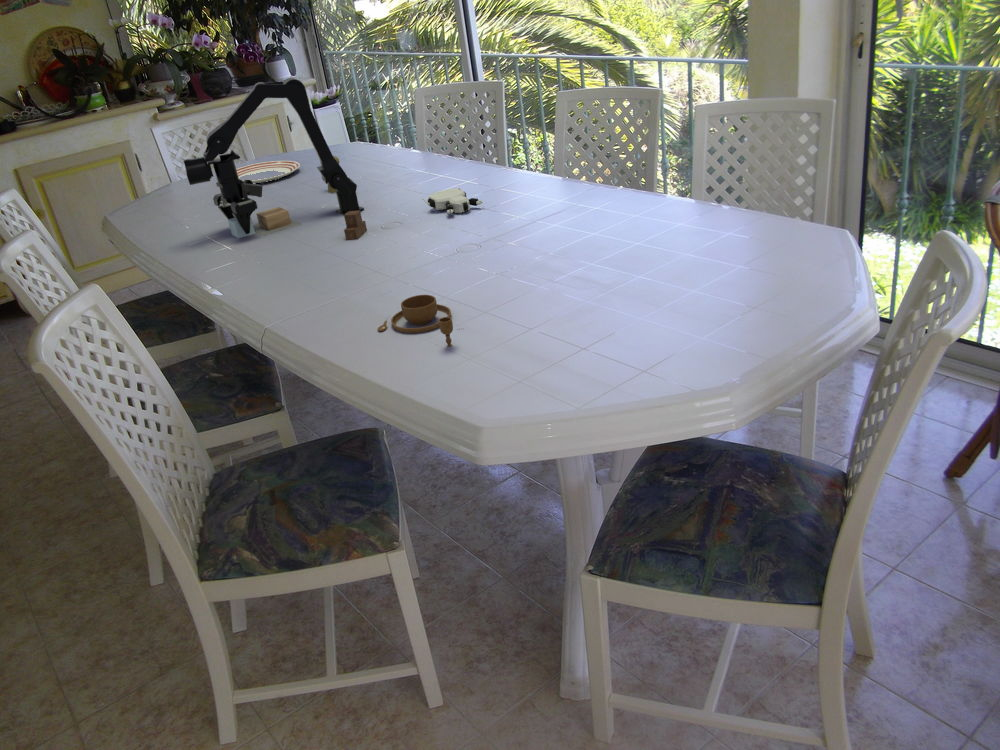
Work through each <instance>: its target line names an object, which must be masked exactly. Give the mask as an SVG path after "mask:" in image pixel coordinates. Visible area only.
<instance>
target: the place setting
mask: <svg viewBox="0 0 1000 750" xmlns="http://www.w3.org/2000/svg"><path fill="white" fill-rule="evenodd" d="M400 308H401V310H400V311H398V312H397V313H395V314H394V315H393V316H392V318H391V320H390V323H391V326H392V327H393V329H394V330H395V331H398V332H400V333H403V334H404V333H405V334H420V333H427V332H431V331H434V330H438V329H439V331H440V333H441V334H443V335H444V336H445V343H446V344H447V345H446V347H447V348H451V347H452V346H453V345H452V338H451V333H453V331H454V326H453V319H452V311H451V308H449V307H448V306H446V305H443V304H437V299H436V297H435V296H434V295H430V294H419V295H413V296H410V297H408V298H406V299H404V300H402V301H401V303H400ZM438 312H443V313H445V315H447V316H444V317H440V318H438V322H436V323H433V324H430V325H427V324H429V323H431V322H432V320H433V319H434V318H435V317H436V316H437V313H438ZM403 318H404V319H405V320H406V321H407V322H408V323H412V325H415V326H423V327H410V328H409V327H408V328H407V327H401V326H398V325H397V323H398V322H399V321H400V320H401V319H403ZM387 323H388V320H385V321H384V322H383V324H382V325H380V326H379V327H377V331H378V332H384V331H386V330H387V329H388V325H387ZM424 325H426V326H424ZM383 327H384V328H383ZM456 330H459V328H457V329H456ZM462 330H464V328H462Z"/></svg>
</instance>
